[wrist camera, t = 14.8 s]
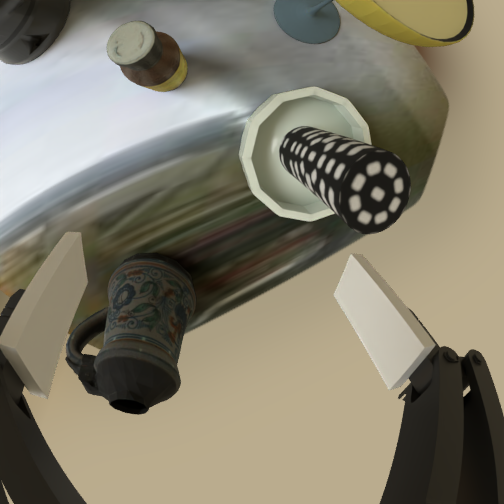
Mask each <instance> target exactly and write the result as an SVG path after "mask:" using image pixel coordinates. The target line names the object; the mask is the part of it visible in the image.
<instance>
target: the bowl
mask: <svg viewBox="0 0 504 504" xmlns="http://www.w3.org/2000/svg"><path fill="white" fill-rule="evenodd" d="M247 120H248V121H247V122H246V126H245V128H244V131H243V134H242V138H241V144H240V151H239V157H240V160H241V163H242V167H243V171H244V173H245V176H246V179H247V182H248V185H249V187H250V189H251V191H252V193H253V194H254V195H255V196H256V197H257V198H258V199H260V200H261V201H262V202H263V203H264V204H265V205H267V206H268V207H269V208H270V209H271V210H272V211H274V212H275V213H276V214H277V215H278V216H281V217H287V218H293V219H299V220H304V221H314V220H317V219H320V218H323V217H326V216H329V215H332V214H335V213H334V212H333V211H332V210H331V209H330V208H329V207H328V206H327V205H326V204H324V203H323V202H322V201H321V200H320V199H319V198H318V197H317V196H315V195H314V194H313V193H312V192H311V191H310V190H309V189H307V188H306V187H305V186H304V185H303V184H302V183H301V182H299V181H298V180H297V179H296V178H295V177H293V176H292V175H291V174H290V173H289V172H288V171H286V170H285V168H284V167H283V166H282V163H281V161H280V157H279V148H280V144H281V141H282V140H283V138H284V136H285V135H286V134H287V133H288V132H289V131H291V130H292V129H294V128H297V127H301V126H309V127H313V128H317V129H321V130H324V131H328V132H332V133H335V134H338V135H342V136H345V137H348V138H352V139H355V140H358V141H361V142H364V143H367V144H370V145H371V139H370V133H369V127H368V124H367V123H366V122H365V120H364V119H363V118H362V116H361V115H360V114H359V113H358V111H357V110H356V109H355V107H354V106H353V105H352V104H351V102H350V101H349V100H348V99H346V98H344V97H342V96H339V95H336V94H334V93H331V92H329V91H326V90H323V89H321V88H318V87H306V88H301V89H296V90H291V91H286V92H282V93H278V94H274V95H272V96H271V97H270V98H269V99H267V100H266V101H265V102H264V103H263V104H261V105H260V106H259V107H258V108H257V109H256V110H255V112H254V113H253V114H252V115H251V116H250V117H249V118H248V119H247Z"/></svg>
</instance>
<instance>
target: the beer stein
mask: <svg viewBox="0 0 504 504" xmlns="http://www.w3.org/2000/svg"><path fill="white" fill-rule="evenodd" d="M108 298H109V307H107V308H104V309H102V310H100V311H98V312H96V313H95V314H93V315H91V316H90V317H88V318H87V319H86V320H84V321H83V322H82V323H80V324H79V325H78V326H77V327H76V328H75V329H74V330H73V332H72V333H71V335H70V337H69V339H68V340H67V344H66V353H67V357H66V361H67V363H68V365H69V366H70V367H71V368H72V369H73V370H74V372H75V373H76V374H77V375H78V376H79V380H80V381H81V382H82V384H83V385H84V387H85V389H86V391H87V392H88V393H89V394H92V395H97V396H103V397H104V398H105V399H107V400H108V401H109V404H110V405H111V406H112V407H113V408H115V409H117V410H120V411H122V412H125V413H130V414H144V413H146V412H147V411H148V410H149V407H152V406H154V405H156V404H158V403H160V402H162V401H165V400H168V399H169V398H171V397H172V396H173V395H174V394H175V393H176V392H177V391H178V389H179V387H180V384H181V380H180V376H179V371H178V368H177V363H178V359H179V354H180V349H181V344H182V340H183V336H184V332H185V329H186V327H187V324H188V322H189V320H190V319H191V317H192V315H193V313H194V311H195V307H196V294H195V290H194V287H193V282H192V277H191V275H190V274H189V273H188V272H187V271H186V270H185V269H184V268H183V267H182V266H181V265H180V264H179V263H178V262H177V261H176V260H173V259H171V258H168V257H166V256H163V255H161V254H158V253H143V254H136V255H134V256H132V257H130V258H128V259H126V260H124V261H123V263H122V264H121V265H120V266H119V267H118V268H117V269H116V270H115V271H114V273H113V274H112V276H111V278H110V281H109V284H108ZM103 331H105V335H104V346H103V348H102V349H101V350H100V351H99V353H98V355H97V356H93V355H87V354H84V355H83V354H82V353H81V351H82V350H83V348H84V347H85V345H86V344H87V343H88V342H89V341H90V340H92V339H93V338H94V337H96V336H97V335H99V334H100V333H101V332H103Z"/></svg>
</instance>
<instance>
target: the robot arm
mask: <svg viewBox="0 0 504 504" xmlns="http://www.w3.org/2000/svg"><path fill="white" fill-rule="evenodd" d="M69 9H70V0H0V60H1V61H2V62H4V63H6V64H12V65H21V64H25V63H28V62H30V61H32V60H34V59H35V58H37V57H38V56H40V55H41V54H42V53H43V52H44V51H45V50H46V49H47V48H48V47H49V46H50V45H51V44H52V43H53V42H54V40H55V39H56V38H57V36H58V35H59V33H60V32H61V30H62V28H63V26H64V24H65V22H66V20H67V17H68V14H69ZM87 284H88V280H87V274H86V268H85V261H84V254H83V247H82V238H81V233H80V232H66V233H65V234H64V236H63V237H62V238H61V240H60V241H59V242H58V243H57V245H56V246H55V248H54V249H53V250H52V252H51V253H50V254H49V256H48V257H47V259H46V260H45V262H44V263H43V264H42V266H41V267H40V269H39V270H38V272H37V273H36V275H35V276H34V278H33V279H32V281H31V283H30V284H29V286H28V287H27V289H26V290H23V289H19V290H18V291H17V292H16V293H15V294H13V295H12V296H11V297H10V299H9V301H8V303H7V304H6V306H5V308H4V309H3V311H2V313H1V316H0V504H9V502H8V500H7V497H6V494H5V491H4V488H3V485H2V483H3V484H4V486H5V488H6V490H7V492H8V494H9V496H10V498H11V499H12V501H13V503H14V504H86V502H85V501H84V500H83V498H82V497H81V496H80V494H79V493H78V492H77V490H76V489H75V487H74V486H73V485H72V483H71V482H70V480H69V479H68V477H67V476H66V474H65V473H64V471H63V470H62V468H61V467H60V465H59V463H58V462H57V460H56V458H55V457H54V455H53V453H52V452H51V450H50V448H49V446H48V445H47V443H46V441H45V439H44V437H43V435H42V433H41V431H40V429H39V427H38V425H37V423H36V421H35V419H34V417H33V415H32V413H31V410H30V408H29V406H28V403H27V401H26V399H25V397H24V395H23V394H22V391H23V388H24V386H25V387H26V388H27V390H28V391H29V392H30V394H32V395H36V396H39V397H43V398H46V399H48V396H49V392H50V388H51V384H52V381H53V377H54V374H55V370H56V367H57V364H58V360H59V357H60V354H61V351H62V347H63V345H64V342H65V339H66V336H67V333H68V331H69V328H70V325H71V322H72V320H73V317H74V315H75V312H76V310H77V307H78V305H79V302H80V300H81V297H82V295H83V293H84V290H85V288H86V286H87ZM334 297H335V298H336V300H337V302H338V303H339V305H340V306H341V308H342V310H343V311H344V313H345V314H346V316H347V318H348V320H349V321H350V323H351V325H352V326H353V328H354V330H355V331H356V333H357V335H358V337H359V338H360V340H361V342H362V343H363V345H364V347H365V348H366V350H367V352H368V354H369V355H370V357H371V359H372V361H373V363H374V364H375V366H376V368H377V369H378V371H379V373H380V375H381V377H382V379H383V380H384V382H385V384H386V386H387V388H388V390H392V389H394V388H398V387H401V386H402V385H403V383H404V382H405V381H406V380H407V379H408V378H409V380H410V381H411V383H410V384H409V385H408V386H407V387H406V388H405V390H404V391H403V392H402V393H401V394H400V395H399V397H398V398H399V399H400V398H401V397H402V396H403V395H404V394H406V396H405V397H404V399H403V400H404V401H405V406H404V412H403V418H402V424H401V429H400V433H399V438H398V443H397V447H396V451H395V455H394V459H393V463H392V467H391V470H390V474H389V477H388V481H387V484H386V487H385V490H384V493H383V496H382V499H381V501H380V504H504V416H503V412H502V409H501V405H500V402H499V399H498V395H497V392H496V389H495V386H494V383H493V380H492V377H491V375H490V372H489V369H488V366H487V364H486V361H485V359H484V357H483V356H482V354H481V353H480V352H479V351H476V350H470V351H469V352H468V353H467V354H466V355H465V357H459V356H458V355H457V354H456V352H455V351H454V350H452V349H451V348H449V347H446V346H444V347H441V348H440V347H439V346H438V344H437V343H436V342H435V340H434V339H433V337H432V336H431V335H430V334H429V332H428V331H427V329H426V328H425V327H424V326H423V324H422V323H421V322H420V321H418V318H417V317H416V315H415V314H414V313H413V312H412V311H411V310H410V309H409V308H407V307H406V305H405V304H404V303H403V302H402V300H401V299H400V298H399V297H398V296H397V294H396V293H395V292H394V291H393V289H392V288H391V287H390V286H389V285H388V284H387V282H386V281H385V280H384V279H383V278H382V277H381V275H380V274H379V273H378V272H377V271H376V270H375V268H374V267H373V266H372V265H371V264H370V263H369V262H368V260H367V259H366V258H365V257H364V256H363V255H361V254H351V255H350V257H349V260H348V262H347V265H346V267H345V270H344V273H343V274H342V277H341V279H340V281H339V284H338V286H337V288H336V290H335V293H334ZM468 386H470V389H471V390H470V391H469V393H467V394H466V396H464V397H463V391H464V390H465V389H466V388H467V387H468ZM1 480H2V481H1Z"/></svg>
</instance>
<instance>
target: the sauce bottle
mask: <svg viewBox="0 0 504 504" xmlns="http://www.w3.org/2000/svg"><path fill="white" fill-rule="evenodd" d="M107 53H108V56H109V58H110V59H111V60H112V61H113V62H114V63H116V64H117V65H119V66H120V68H121V70H122V72H123V74H124V75H125V76H126V77H127V78H128V79H129V80H130V81H132V82H134V83H136V84H137V85H140V86H143V87H146V88H149V89H152V90H155V91H159V92H166V91H170V90H174V89H176V88H178V87H179V86H180V85H181V84H182V83H183V81H184V80H185V78H186V76H187V69H188V68H187V62H186V60H185V58H184V56H183V54H182V52H181V50H180V48H179V46H178V44H177V43H176V41H175V40H174V39H173V38H172V37H171V36H169V35H168V34H165V33H162V32H156V31H155V29H154V28H153V27H152V26H151V25H149V24H148V23H146V22H142V21H132V22H129V23H126V24H123V25H121V26H120V27H119V28H117V29H116V30H115V31H114V32H113V34H112V35H111V36H110V38H109V40H108V43H107Z"/></svg>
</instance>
